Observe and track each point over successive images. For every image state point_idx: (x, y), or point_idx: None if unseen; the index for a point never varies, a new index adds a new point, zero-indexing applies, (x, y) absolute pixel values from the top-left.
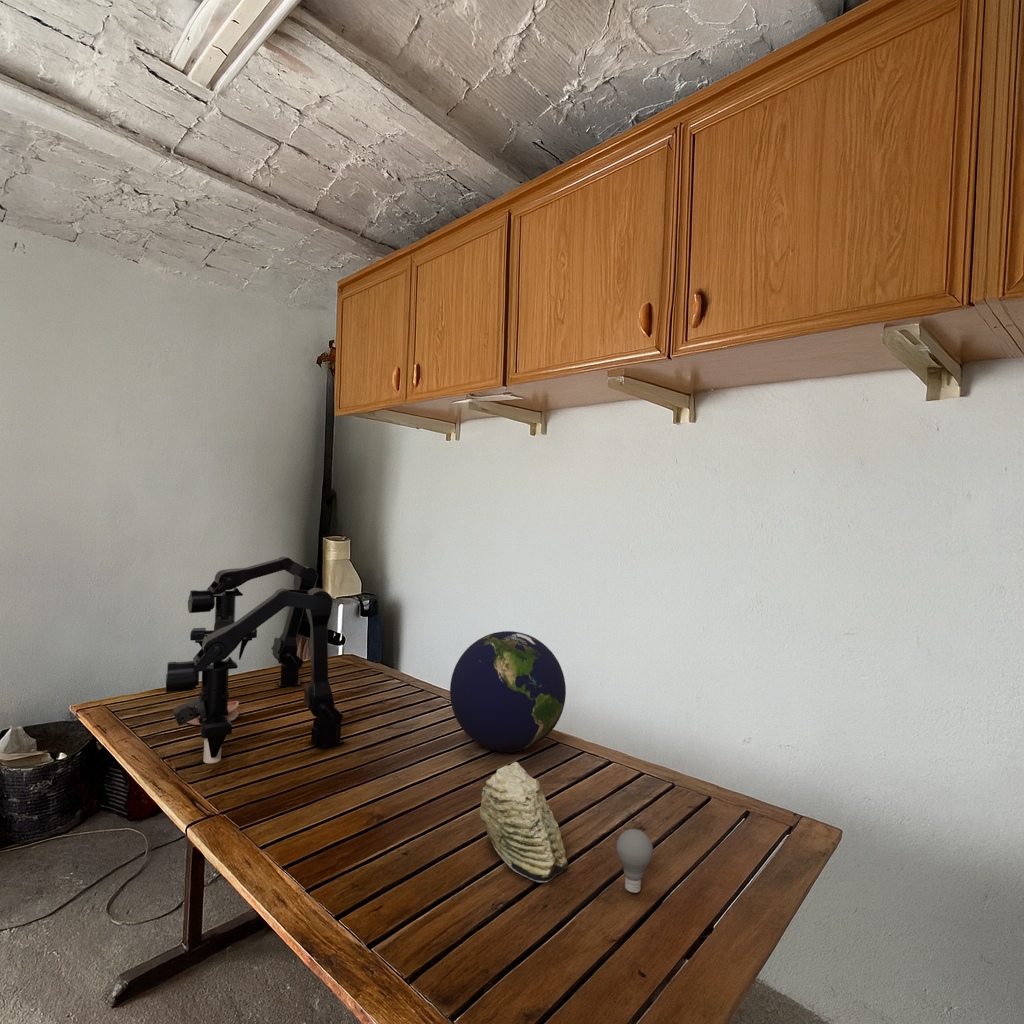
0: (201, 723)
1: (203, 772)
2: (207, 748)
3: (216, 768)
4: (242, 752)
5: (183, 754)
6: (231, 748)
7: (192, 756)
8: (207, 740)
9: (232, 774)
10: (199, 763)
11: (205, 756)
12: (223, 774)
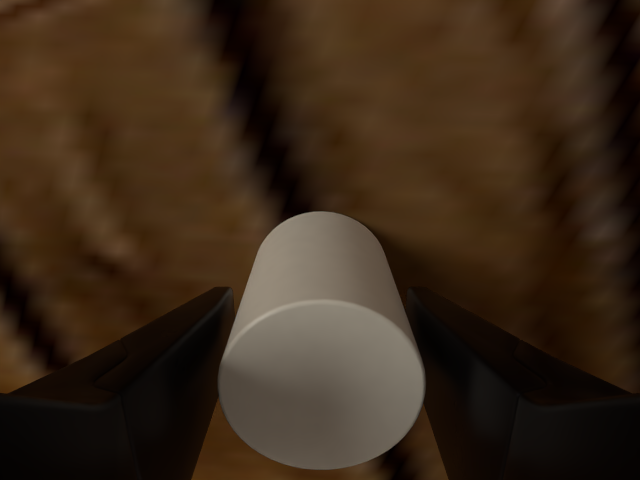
0: (630, 419)
1: (84, 198)
2: (248, 295)
3: (141, 290)
4: (383, 456)
5: (582, 49)
6: None
7: (484, 129)
8: (311, 336)
9: (4, 374)
10: (291, 178)
11: (275, 243)
12: (15, 325)
